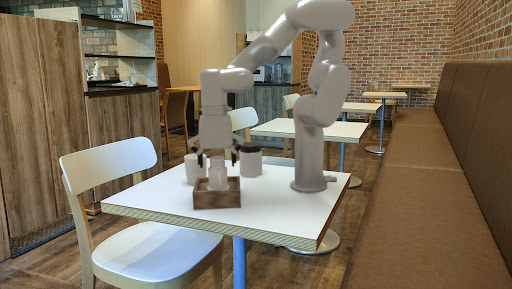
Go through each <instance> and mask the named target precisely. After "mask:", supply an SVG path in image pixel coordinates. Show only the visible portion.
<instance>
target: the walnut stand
mask: <svg viewBox="0 0 512 289" xmlns="http://www.w3.org/2000/svg"><path fill="white" fill-rule="evenodd" d="M240 178H241V176H240V175H233V176H232V175H231V176H230V175H229V176H228V175H227V183H228V185H229V186H230V188H229V189H228V190H208V189H207V186H208V185H209V178H208V176H206V177H197V180H196V183H195V186H193V189H192V193H191V194H192V208H193V211H199V210H223V209H224V210H227V209H228V210H229V209H242V204H241V203H242V200H241V199H242V198H241V196H242V195H241V179H240Z"/></svg>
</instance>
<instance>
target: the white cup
mask: <svg viewBox="0 0 512 289" xmlns="http://www.w3.org/2000/svg"><path fill="white" fill-rule="evenodd" d="M202 154H203V168H200V165H198V157H197V155H196V153H195V152H194V153H188V154H186V155H184V156H183V157H184V168H185V175H186V182H187V185H189V186H193V187H194V186H195V183H196V180H197V177H207V172H208V166H207V162H208V161H207V154H205V153H202Z"/></svg>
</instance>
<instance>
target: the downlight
mask: <svg viewBox="0 0 512 289" xmlns="http://www.w3.org/2000/svg"><path fill="white" fill-rule="evenodd" d="M225 158H226V157H225V156H223V155H212V156H210V157H209V167H207V172H208V174H207V175H208V176H207V177H208V178H209V185H208V186H207V189H208V190H228V189H229V188H230V186H229V185H228V183H227V176H228V167H227V166H226V159H225Z"/></svg>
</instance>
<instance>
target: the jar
mask: <svg viewBox="0 0 512 289" xmlns="http://www.w3.org/2000/svg"><path fill="white" fill-rule="evenodd" d="M238 152H239V154H238V156H239V174H240V175H241V176H242V177H243V178H252V179H253V178H256V177H260V176H263V151H262V144H261V143H260V142H258V141H257V142H256V141H246V142H245V141H244V143H243V145H242V148H241V149H240V150H239V151H238Z"/></svg>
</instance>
